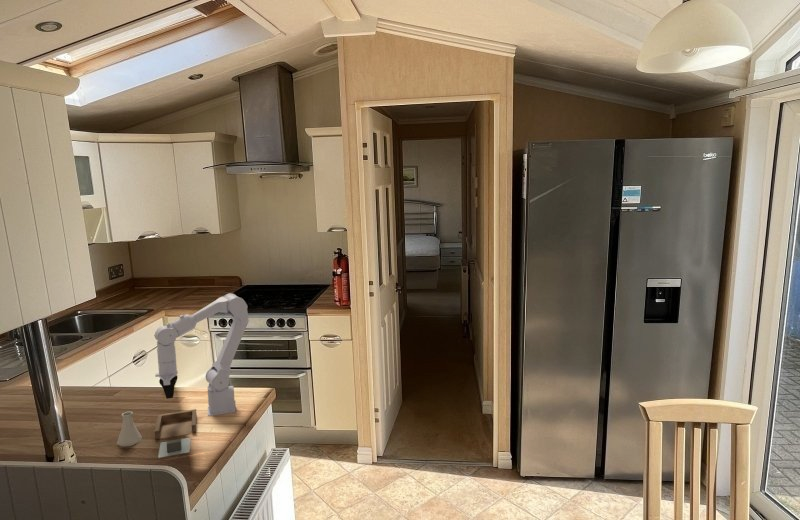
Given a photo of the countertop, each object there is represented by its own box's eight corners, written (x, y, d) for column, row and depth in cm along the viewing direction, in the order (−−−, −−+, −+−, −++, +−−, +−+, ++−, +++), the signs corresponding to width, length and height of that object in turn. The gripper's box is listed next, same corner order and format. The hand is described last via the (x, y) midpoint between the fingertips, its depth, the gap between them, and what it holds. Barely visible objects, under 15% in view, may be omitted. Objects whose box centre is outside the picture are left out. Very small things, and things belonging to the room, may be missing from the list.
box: (196, 417, 180) (196, 409, 179) (196, 433, 167) (195, 424, 167) (159, 423, 175) (158, 414, 175) (155, 440, 163) (154, 431, 163)
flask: (131, 449, 158) (128, 419, 156) (111, 446, 159) (109, 417, 158) (147, 438, 165) (144, 409, 163) (128, 436, 166) (125, 407, 165)
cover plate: (190, 440, 164) (190, 428, 164) (189, 455, 155) (189, 443, 154) (160, 445, 161) (160, 433, 160) (158, 460, 152) (157, 448, 151)
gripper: (156, 355, 178) (159, 391, 180) (152, 368, 164) (155, 407, 166) (177, 353, 180) (180, 388, 182) (175, 366, 167) (178, 404, 169)
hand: (169, 397), depth 174 cm, fingers closed
